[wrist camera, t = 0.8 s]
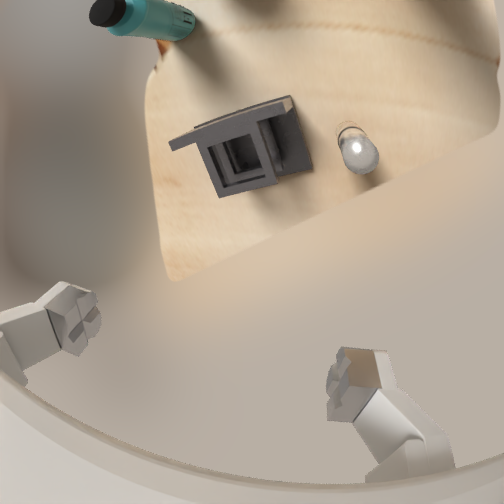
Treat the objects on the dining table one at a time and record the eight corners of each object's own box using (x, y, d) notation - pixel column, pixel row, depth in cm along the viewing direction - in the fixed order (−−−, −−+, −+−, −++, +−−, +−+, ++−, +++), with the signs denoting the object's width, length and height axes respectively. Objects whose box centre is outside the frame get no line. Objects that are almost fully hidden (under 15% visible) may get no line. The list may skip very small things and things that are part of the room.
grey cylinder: (358, 118, 37) (375, 135, 26) (364, 143, 39) (382, 171, 28) (332, 123, 39) (338, 142, 27) (339, 148, 41) (347, 177, 29)
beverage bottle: (206, 30, 33) (133, 9, 17) (172, 49, 36) (89, 47, 20) (191, 1, 30) (114, -27, 14) (158, 22, 33) (73, 11, 17)
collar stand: (290, 94, 38) (281, 98, 29) (312, 166, 43) (310, 190, 35) (197, 125, 43) (167, 139, 35) (222, 188, 49) (200, 215, 41)
